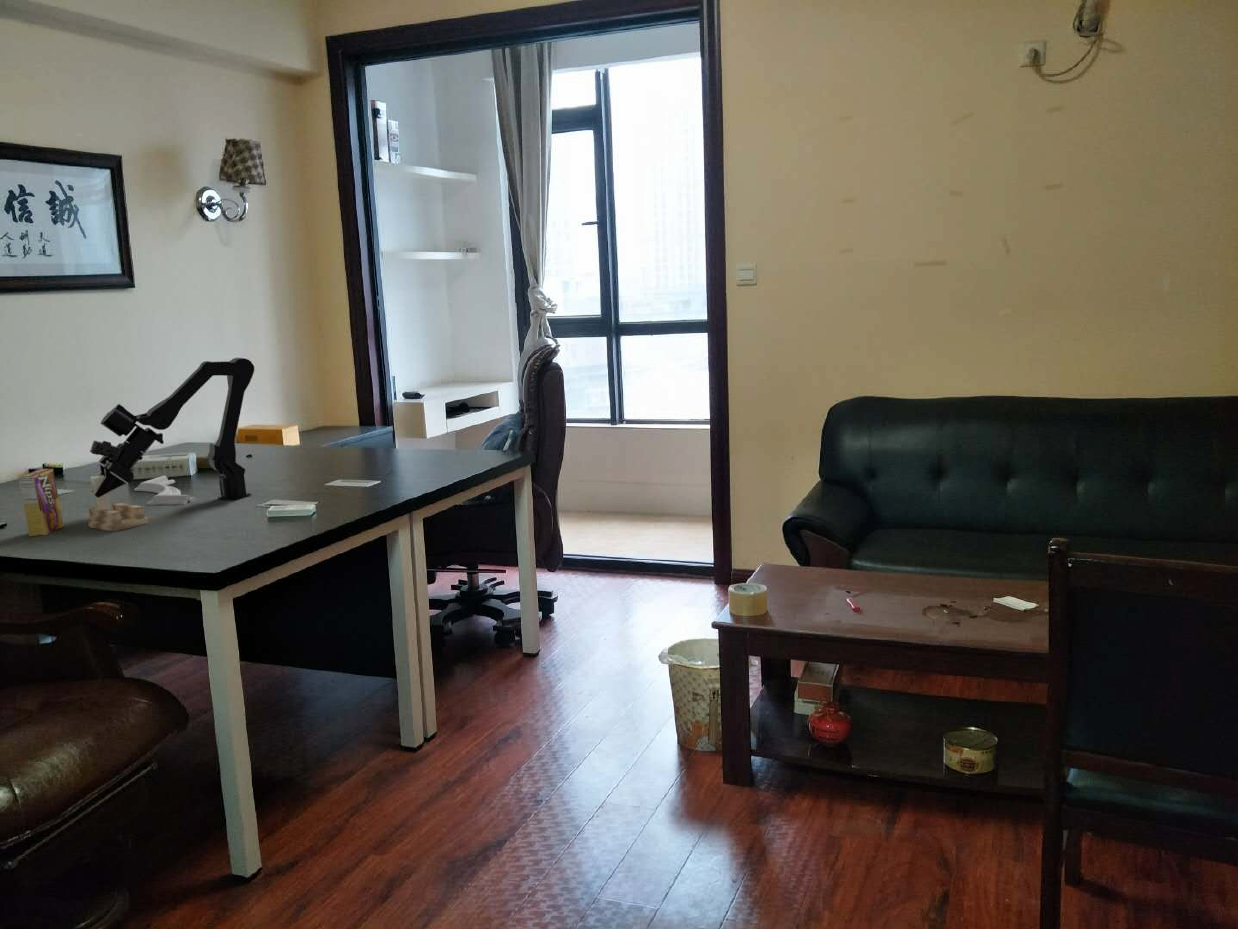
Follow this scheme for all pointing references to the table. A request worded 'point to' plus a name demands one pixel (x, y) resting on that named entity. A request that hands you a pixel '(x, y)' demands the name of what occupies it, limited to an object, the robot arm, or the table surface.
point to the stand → (117, 517)
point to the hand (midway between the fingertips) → (94, 494)
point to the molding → (164, 492)
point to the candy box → (41, 502)
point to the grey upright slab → (104, 500)
